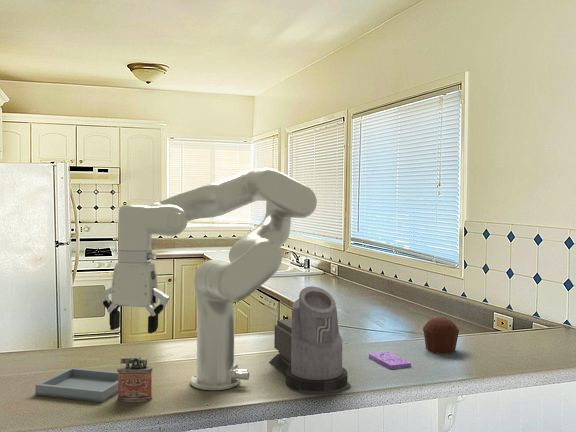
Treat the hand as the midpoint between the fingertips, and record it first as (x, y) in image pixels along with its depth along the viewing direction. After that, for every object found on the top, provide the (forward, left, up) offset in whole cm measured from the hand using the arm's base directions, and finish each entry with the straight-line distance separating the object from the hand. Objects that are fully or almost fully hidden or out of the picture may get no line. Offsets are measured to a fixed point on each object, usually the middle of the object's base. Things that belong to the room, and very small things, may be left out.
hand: (133, 330), depth 132 cm
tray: (+15, -3, -16) cm, 22 cm away
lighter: (0, 0, -17) cm, 17 cm away
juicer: (-36, -28, -17) cm, 49 cm away
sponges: (-56, -47, -17) cm, 76 cm away
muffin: (-71, -65, -17) cm, 98 cm away
